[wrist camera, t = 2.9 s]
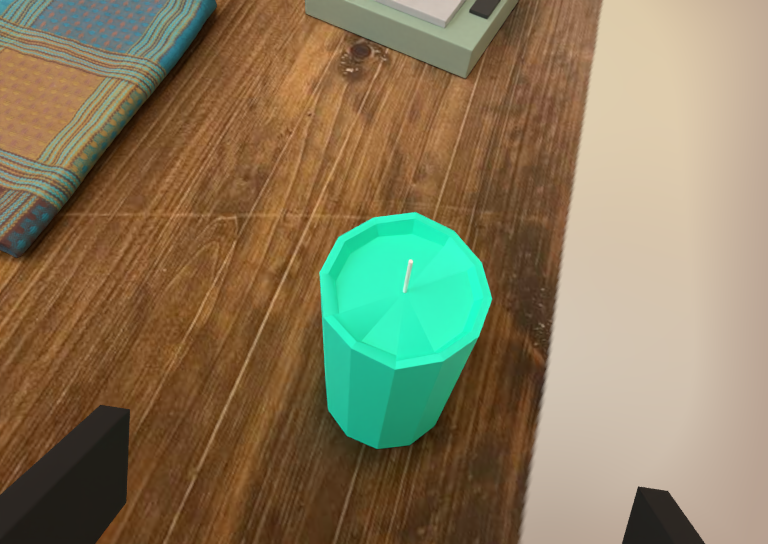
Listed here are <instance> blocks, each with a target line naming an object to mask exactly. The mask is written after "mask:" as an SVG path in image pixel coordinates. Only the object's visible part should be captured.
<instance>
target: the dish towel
mask: <svg viewBox="0 0 768 544" xmlns="http://www.w3.org/2000/svg"><path fill="white" fill-rule="evenodd" d="M216 7H217V4H216V1H215V0H0V250H1V251H3V252H6V253H8V254H10V255H12V256H14V257H16V258H18V257H20V256H21V255H22V254H23V253H24V252H25V251H26V250H27V249H28V247H29V246H30V245H31V244H32V243H33V242H34V241H35V239H36V238H37V237H38V236H39V235H40V233H41V232H42V231H43V230H44V229H45V228H46V227H47V225H48V224H49V223H50V221H51V220H52V219H53V218H54V217H55V216H56V215H57V213H58V212H59V211H60V209H61V208H62V207H63V206H64V204H65V203H66V202H67V201H68V199H69V198H70V197H71V196H72V194H73V193H74V192H75V190H76V189H77V188H78V186H79V185H80V184H81V183H82V181H83V180H84V178H85V176H86V175H87V174H88V172H89V171H90V170H91V169H92V168H93V166H94V165H95V163H96V162H97V160H98V159H99V158H100V157H101V155H102V154H103V153H104V151H105V150H106V149H107V148H108V147H109V146H110V145H111V143H112V142H113V140H114V139H115V137H116V136H117V135H119V134H120V132H121V130H122V129H123V128H124V126H125V125H126V124H127V123H128V122H129V121H130V119H131V118H132V117H133V116H134V114H135V113H136V112H137V110H138V109H139V108H140V107H141V106H142V104H143V103H144V102H145V101H146V100H147V99H148V98H149V96H150V95H151V94H152V93H153V92H154V90H155V89H156V88H157V87H158V86H159V84H160V83H161V82H162V80H163V79H164V78H165V77H166V76H167V74H168V73H169V72H170V70H171V69H172V68H173V67H174V66H175V65H176V63H177V62H178V60H179V59H180V58H181V57H182V55H183V53H184V52H185V51H186V50H187V49H188V47H189V46H190V44H191V43H192V41H193V40H194V39H195V38H196V36H197V34H198V32H199V31H200V30H201V28H202V26H203V24H204V23H205V22H206V20H207V19H208V17H209V16H210V15H211V14H212V13H213V11H214V10H215V9H216Z"/></svg>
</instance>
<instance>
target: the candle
mask: <svg viewBox="0 0 768 544" xmlns="http://www.w3.org/2000/svg"><path fill="white" fill-rule="evenodd" d="M320 288H321V307H322V325H323V344H324V363H325V380H326V392H327V403H328V411H329V412H330V413H331V415H332V416H333V417H334V419H335V420H336V422H337V423H338V424H339V426H340V427H341V428H342V430H343V431H344V433H345V434H346V435H347V436H348V437H351V438H353V439H355V440H358V441H360V442H362V443H364V444H367V445H369V446H371V447H374V448H376V449H382V448H391V447H399V446H407V445H411V444H412V443H413V442H415V441H416V440H417V439H418V438H420V437H421V436H422V435H424V434H425V433H426V432H427V431H429V430H430V429H431V428H433V427H434V426H435V424H436V422H437V420H438V418H439V416H440V414H441V412H442V410H443V408H444V406H445V404H446V402H447V400H448V398H449V396H450V394H451V392H452V390H453V388H454V386H455V384H456V382H457V380H458V378H459V376H460V374H461V372H462V369H463V367H464V365H465V363H466V361H467V359H468V357H469V355H470V353H471V351H472V349H473V347H474V345H475V343H476V341H477V339H478V337H479V334H480V332H481V329H482V326H483V323H484V320H485V318H486V315H487V312H488V309H489V307H490V304H491V301H492V297H491V293H490V290H489V286H488V283H487V280H486V276H485V273H484V269H483V266H482V263H481V261H480V260H479V259H478V258H477V257H476V256H475V255H474V253H473V252H472V251H471V250H470V249H469V248H468V246H467V245H466V244H465V243H464V242H463V241H462V239H461V238H460V237H459V236H458V235H457V234H456V233H455V231H453V230H451V229H449V228H447V227H445V226H443V225H441V224H439V223H437V222H435V221H433V220H431V219H429V218H426V217H424V216H422V215H420V214H418V213H416V212H413V213H405V214H398V215H390V216H383V217H375V218H372V219H370V220H368V221H367V222H365V223H363V224H361V225H359V226H358V227H356V228H354V229H352V230H350V231H349V232H347V233H345V234H343V235H341V236H340V237H338V239H337V241H336V243H335V245H334V247H333V248H332V250H331V252H330V254H329V256H328V258H327V260H326V262H325V263H324V265H323V267H322V269H321V271H320Z"/></svg>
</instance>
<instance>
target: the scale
mask: <svg viewBox="0 0 768 544" xmlns="http://www.w3.org/2000/svg"><path fill="white" fill-rule="evenodd" d="M518 1H519V0H305V10H306V14H308V15H310V16H313V17H315V18H318V19H320V20H323V21H325V22H328V23H330V24H332V25H335V26H337V27H340V28H342V29H345V30H347V31H350V32H352V33H355V34H357V35H359V36H362V37H364V38H367V39H369V40H372V41H374V42H377V43H379V44H382V45H384V46H387V47H389V48H391V49H394V50H396V51H399V52H401V53H404V54H406V55H409V56H411V57H414V58H416V59H419V60H421V61H423V62H426V63H428V64H431V65H433V66H436V67H438V68H441V69H443V70H446V71H448V72H450V73H453V74H455V75H458V76H460V77H463V78H467V76H468V75H469V73H470V72H471V70H472V69H473V67H474V66H475V64H476V63H477V61H478V60H479V58H480V57H481V55H482V54H483V52H484V51H485V50H486V48H487V47H488V45H489V44H490V42H491V41H492V39H493V38H494V36H495V35H496V33H497V32H498V30H499V29H500V27H501V26H502V24H503V23H504V22H505V20H506V19H507V17H508V16H509V14H510V13H511V11H512V10H513V8H514V7H515V5H516V4H517V2H518Z"/></svg>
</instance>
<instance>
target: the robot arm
mask: <svg viewBox="0 0 768 544" xmlns="http://www.w3.org/2000/svg"><path fill="white" fill-rule="evenodd" d="M129 420H130V409H124V408H117V407H110V406H104V405H100V406H99V407H98V408H97V409H95V410H94V411H93V412H92V413H91V414H90V415H89V416H88V417H87V418H85V419H84V420H83V421H82V422H81V423H80V424H79V425H78V426H77V427H75V428H74V429H73V430H72V431H71V432H70V433H69V434H68V435H67V436H65V437H64V438H63V439H62V440H61V441H60V442H59V443H58V444H56V445H55V446H54V447H53V448H52V449H51V450H50V451H49V452H48V453H46V454H45V455H44V456H43V457H42V458H41V459H40V460H39V461H38V462H36V463H35V464H34V465H33V466H32V467H31V468H30V469H29V470H28V471H26V472H25V473H24V474H23V475H22V476H21V477H20V478H19V479H17V480H16V481H15V482H14V483H13V484H12V485H11V486H10V487H9V488H7V489H6V490H5V491H4V492H3V493H2V494H1V495H0V544H95V543H96V542H97V540H98V539H99V538H100V536H101V535H102V534H103V532H104V531H105V530H106V528H107V527H108V526H109V524H110V523H111V522H112V521H113V519H114V518H115V517H116V515H117V514H118V513H119V511H120V510H121V509H122V507H123V506H124V505H125V503H126V495H127V470H128V445H129ZM622 544H705V543H704V541H703V540H702V539H701V537H700V536H699V534H698V533H697V532H696V530H695V529H694V527H693V526H692V525H691V523H690V522H689V520H688V519H687V517H686V516H685V515H684V513H683V512H682V510H681V509H680V508H679V506H678V505H677V503H676V502H675V500H674V499H673V497H672V496H671V495H670V493H669V492H668V491H664V490H657V489H651V488H645V487H638V489H637V493H636V496H635V499H634V503H633V506H632V510H631V514H630V517H629V521H628V524H627V528H626V532H625V535H624V538H623V542H622Z"/></svg>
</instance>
